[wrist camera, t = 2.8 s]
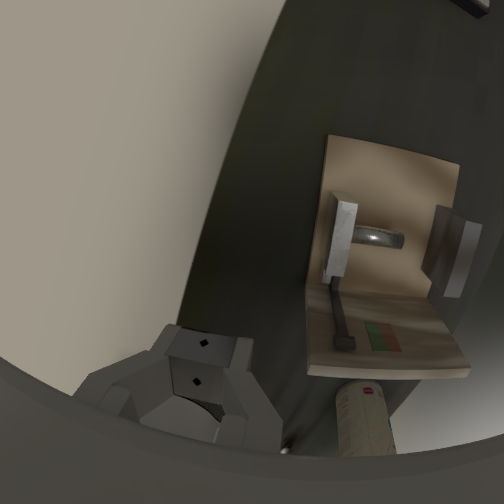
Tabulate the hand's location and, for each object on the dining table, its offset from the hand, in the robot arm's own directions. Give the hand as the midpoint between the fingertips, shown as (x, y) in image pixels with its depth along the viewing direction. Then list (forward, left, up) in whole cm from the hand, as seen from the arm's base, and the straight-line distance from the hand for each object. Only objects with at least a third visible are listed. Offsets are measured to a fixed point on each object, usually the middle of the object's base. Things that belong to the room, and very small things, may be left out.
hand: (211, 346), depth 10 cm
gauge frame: (0, -12, -21) cm, 24 cm away
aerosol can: (-24, -16, -21) cm, 36 cm away
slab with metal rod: (-1, -9, -19) cm, 21 cm away
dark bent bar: (-5, -7, -19) cm, 21 cm away
